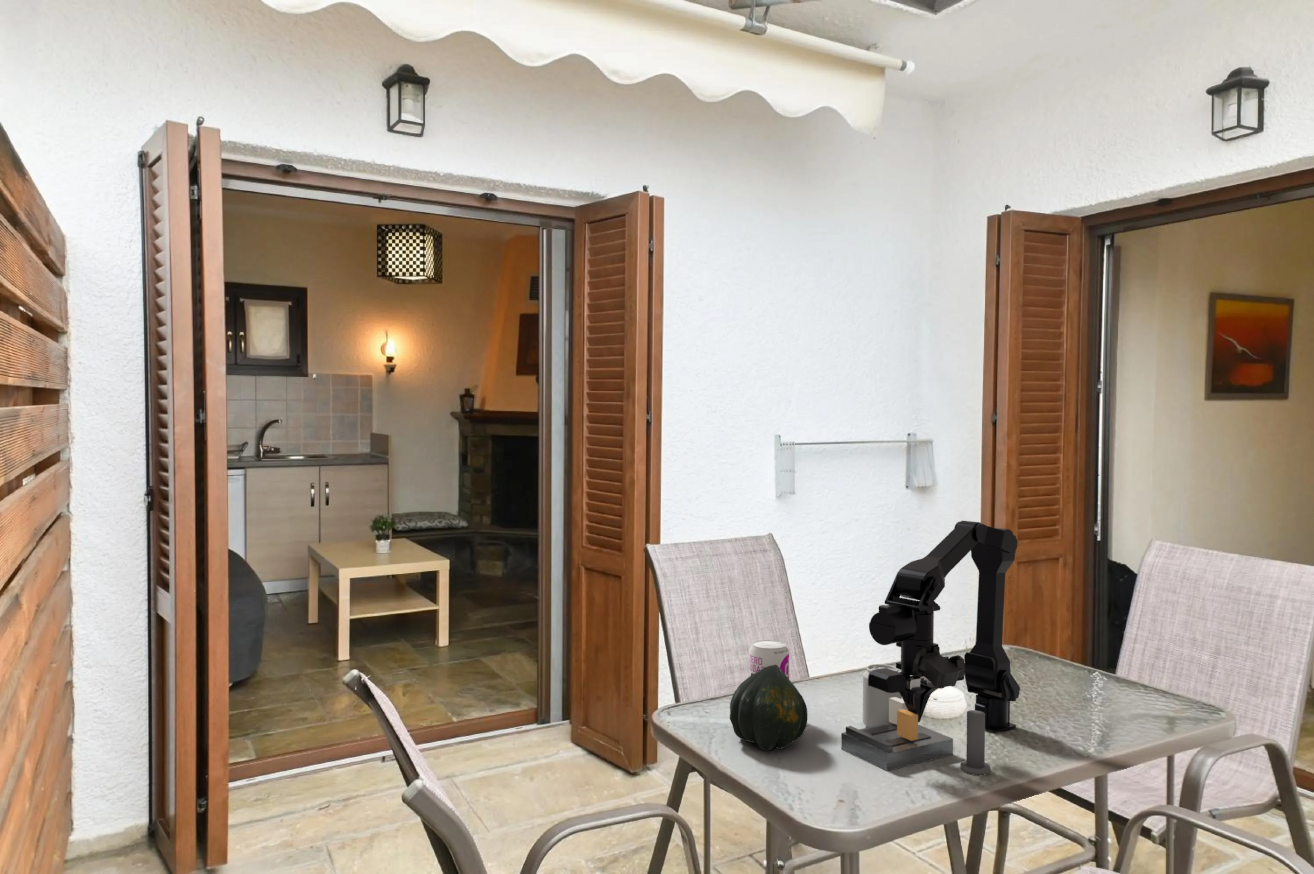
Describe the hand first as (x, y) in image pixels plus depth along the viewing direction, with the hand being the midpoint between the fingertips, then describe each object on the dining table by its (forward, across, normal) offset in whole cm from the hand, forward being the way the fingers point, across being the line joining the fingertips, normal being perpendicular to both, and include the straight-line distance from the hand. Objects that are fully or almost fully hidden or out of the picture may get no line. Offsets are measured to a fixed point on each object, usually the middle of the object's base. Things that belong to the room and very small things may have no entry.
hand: (916, 721), depth 166 cm
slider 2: (+2, -2, 0) cm, 3 cm away
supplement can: (+6, -11, +30) cm, 33 cm away
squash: (+6, -20, +18) cm, 28 cm away
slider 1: (+2, +2, +6) cm, 7 cm away
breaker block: (+6, -2, +2) cm, 7 cm away
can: (+6, +5, +14) cm, 16 cm away
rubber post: (+6, +4, -10) cm, 13 cm away
